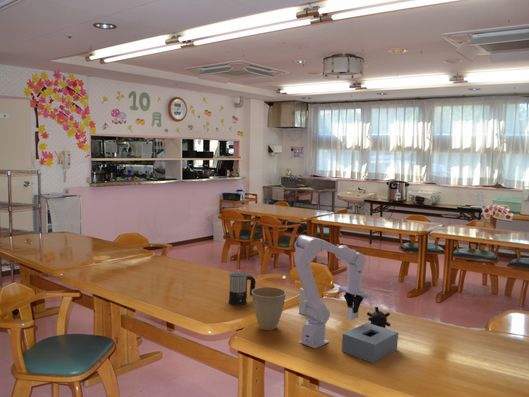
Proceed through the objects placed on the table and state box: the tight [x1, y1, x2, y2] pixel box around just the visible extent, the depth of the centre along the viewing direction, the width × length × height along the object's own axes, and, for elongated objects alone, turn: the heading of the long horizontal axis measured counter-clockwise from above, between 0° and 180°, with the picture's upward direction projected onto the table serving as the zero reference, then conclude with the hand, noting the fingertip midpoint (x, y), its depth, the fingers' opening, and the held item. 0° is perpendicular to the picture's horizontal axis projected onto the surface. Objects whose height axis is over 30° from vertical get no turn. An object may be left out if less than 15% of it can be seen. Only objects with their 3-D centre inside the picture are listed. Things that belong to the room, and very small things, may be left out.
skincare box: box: [298, 287, 307, 316], centre depth 221 cm, size 6×4×12 cm
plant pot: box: [251, 286, 287, 331], centre depth 200 cm, size 15×15×16 cm
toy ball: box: [366, 306, 391, 328], centre depth 204 cm, size 10×10×11 cm
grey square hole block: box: [341, 322, 399, 364], centre depth 181 cm, size 18×14×7 cm
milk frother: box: [228, 271, 256, 306], centre depth 237 cm, size 14×16×15 cm
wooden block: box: [346, 304, 359, 321], centre depth 194 cm, size 5×2×5 cm, turn 137°
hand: (353, 311), depth 194 cm, fingers closed on wooden block, 2 cm apart
